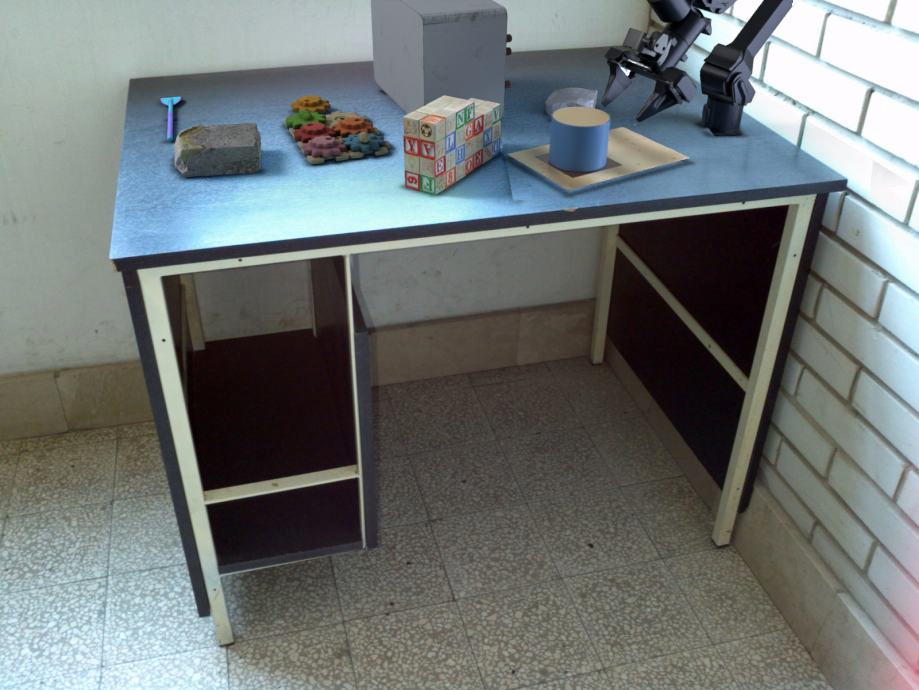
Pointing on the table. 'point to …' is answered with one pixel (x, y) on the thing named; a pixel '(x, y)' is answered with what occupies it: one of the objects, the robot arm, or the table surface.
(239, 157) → the geological specimen
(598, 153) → the blue cylinder
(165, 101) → the blue scraper
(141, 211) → the table surface
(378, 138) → the gear puzzle
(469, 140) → the stack of blocks
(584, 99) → the stone block
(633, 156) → the birch board
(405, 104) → the vintage electronic device
